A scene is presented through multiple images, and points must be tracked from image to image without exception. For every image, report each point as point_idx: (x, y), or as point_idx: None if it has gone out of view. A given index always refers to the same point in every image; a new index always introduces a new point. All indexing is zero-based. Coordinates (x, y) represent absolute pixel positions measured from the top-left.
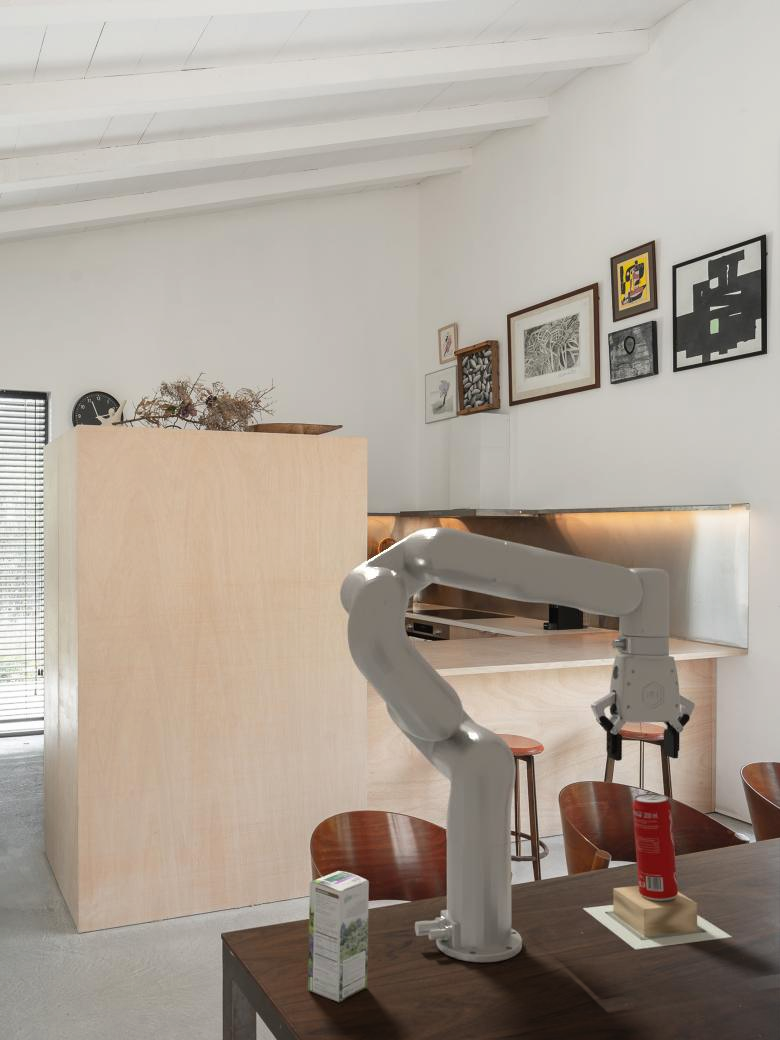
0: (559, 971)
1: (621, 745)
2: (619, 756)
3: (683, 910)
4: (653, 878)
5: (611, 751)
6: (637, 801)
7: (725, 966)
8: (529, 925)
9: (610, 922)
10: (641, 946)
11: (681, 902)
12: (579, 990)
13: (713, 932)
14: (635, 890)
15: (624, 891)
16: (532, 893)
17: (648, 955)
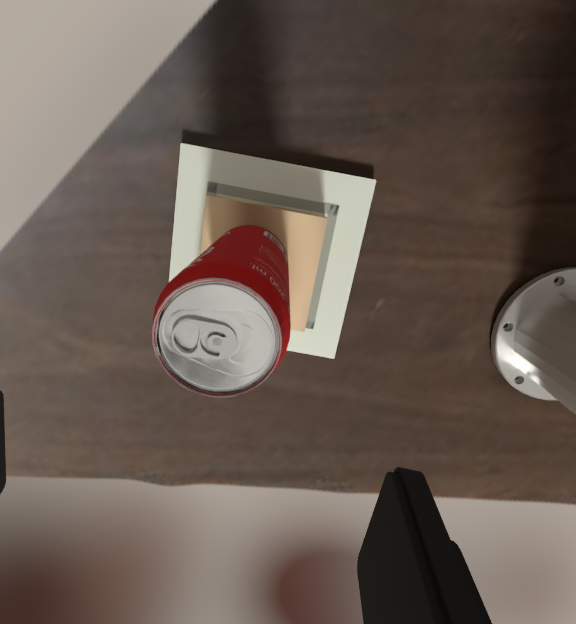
0: (521, 196)
1: (420, 555)
2: (419, 484)
3: (240, 201)
4: (279, 246)
5: (459, 549)
6: (280, 346)
7: (258, 78)
8: (435, 361)
9: (333, 291)
10: (358, 184)
11: (232, 213)
12: (547, 119)
13: (198, 174)
14: None
15: (295, 310)
16: (343, 457)
17: None
